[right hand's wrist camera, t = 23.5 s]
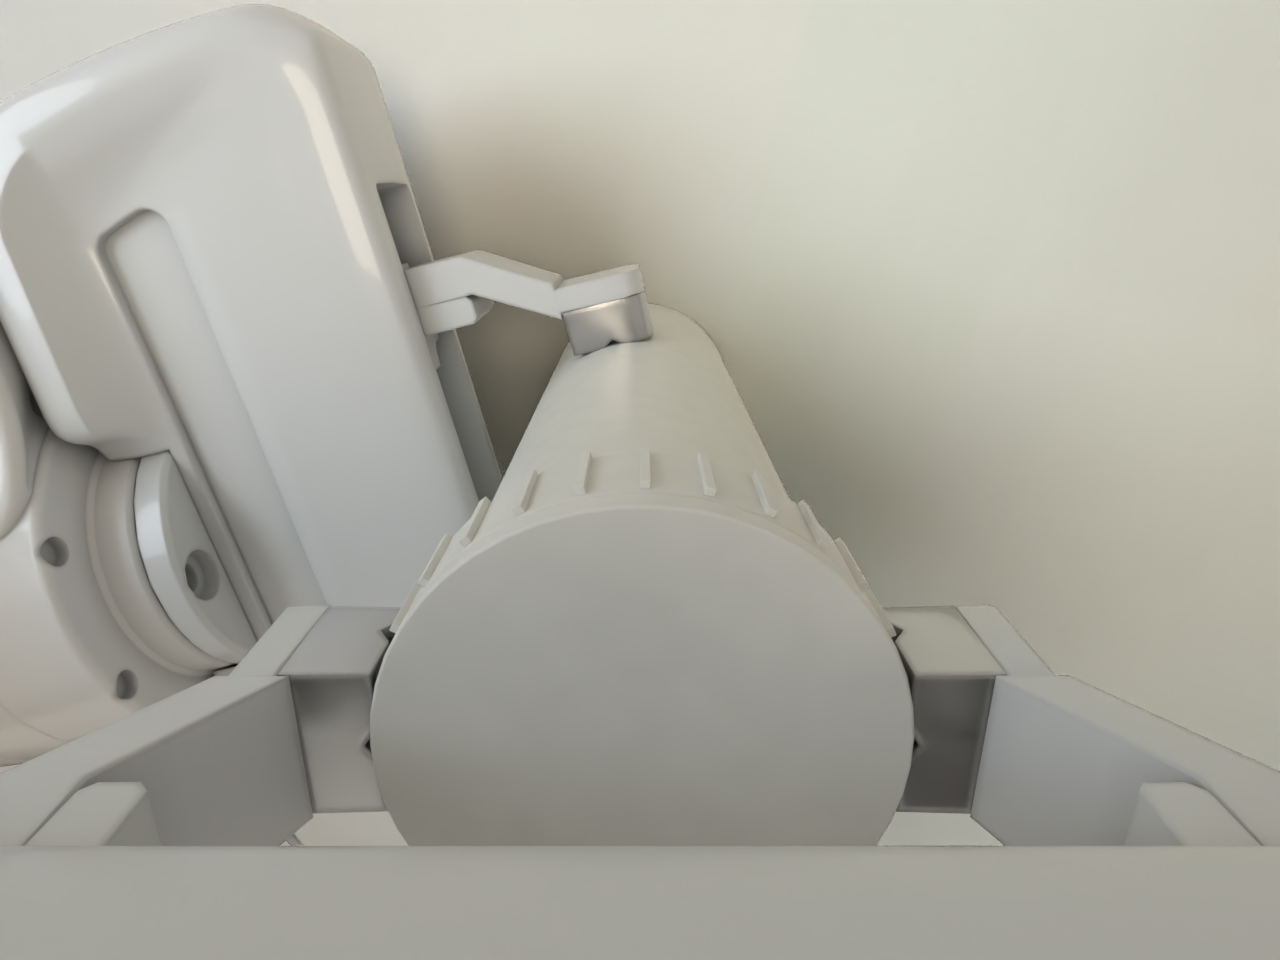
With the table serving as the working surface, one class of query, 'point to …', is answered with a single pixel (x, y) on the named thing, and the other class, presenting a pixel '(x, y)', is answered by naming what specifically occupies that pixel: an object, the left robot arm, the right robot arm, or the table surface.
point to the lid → (642, 671)
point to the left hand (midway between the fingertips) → (677, 433)
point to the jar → (643, 405)
